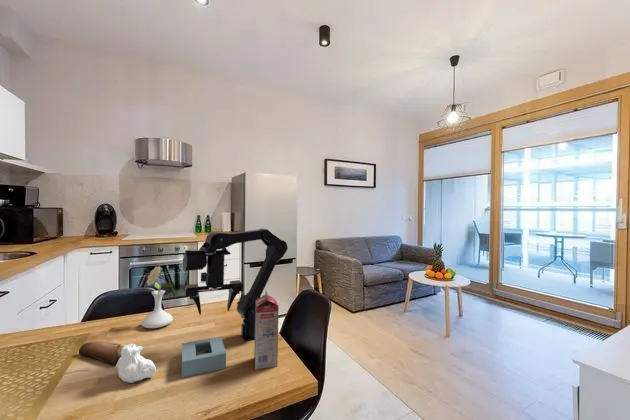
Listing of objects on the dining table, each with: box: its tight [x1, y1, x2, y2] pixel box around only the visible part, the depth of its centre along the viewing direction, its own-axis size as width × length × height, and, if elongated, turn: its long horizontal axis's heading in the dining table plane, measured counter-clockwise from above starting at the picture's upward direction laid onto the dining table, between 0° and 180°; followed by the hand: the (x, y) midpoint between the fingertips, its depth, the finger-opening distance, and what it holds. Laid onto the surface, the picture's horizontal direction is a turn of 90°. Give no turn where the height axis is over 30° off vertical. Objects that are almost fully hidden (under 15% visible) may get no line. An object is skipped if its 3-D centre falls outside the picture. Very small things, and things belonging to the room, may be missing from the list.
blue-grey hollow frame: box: [181, 336, 227, 379], centre depth 84 cm, size 12×12×4 cm
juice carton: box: [253, 290, 279, 370], centre depth 85 cm, size 7×7×22 cm
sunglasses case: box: [78, 341, 124, 366], centre depth 88 cm, size 18×7×7 cm, turn 70°
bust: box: [115, 343, 157, 384], centre depth 75 cm, size 12×8×11 cm
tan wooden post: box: [198, 350, 208, 355], centre depth 84 cm, size 3×6×2 cm, turn 21°
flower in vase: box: [140, 265, 174, 329], centre depth 111 cm, size 13×11×25 cm
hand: (214, 312), depth 94 cm, fingers open, 9 cm apart
